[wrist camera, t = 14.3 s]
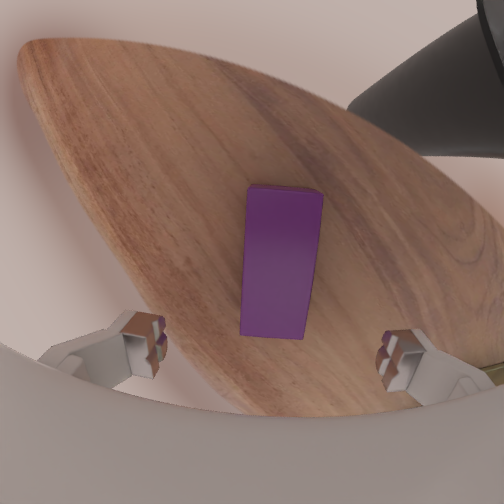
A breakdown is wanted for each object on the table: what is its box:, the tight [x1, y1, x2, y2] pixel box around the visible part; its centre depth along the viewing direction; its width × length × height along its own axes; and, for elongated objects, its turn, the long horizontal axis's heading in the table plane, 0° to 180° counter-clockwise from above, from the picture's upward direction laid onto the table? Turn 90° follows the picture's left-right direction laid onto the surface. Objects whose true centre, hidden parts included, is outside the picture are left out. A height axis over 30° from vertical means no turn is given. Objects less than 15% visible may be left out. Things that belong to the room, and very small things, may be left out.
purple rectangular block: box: [240, 184, 324, 340], centre depth 17 cm, size 9×4×3 cm, turn 176°
